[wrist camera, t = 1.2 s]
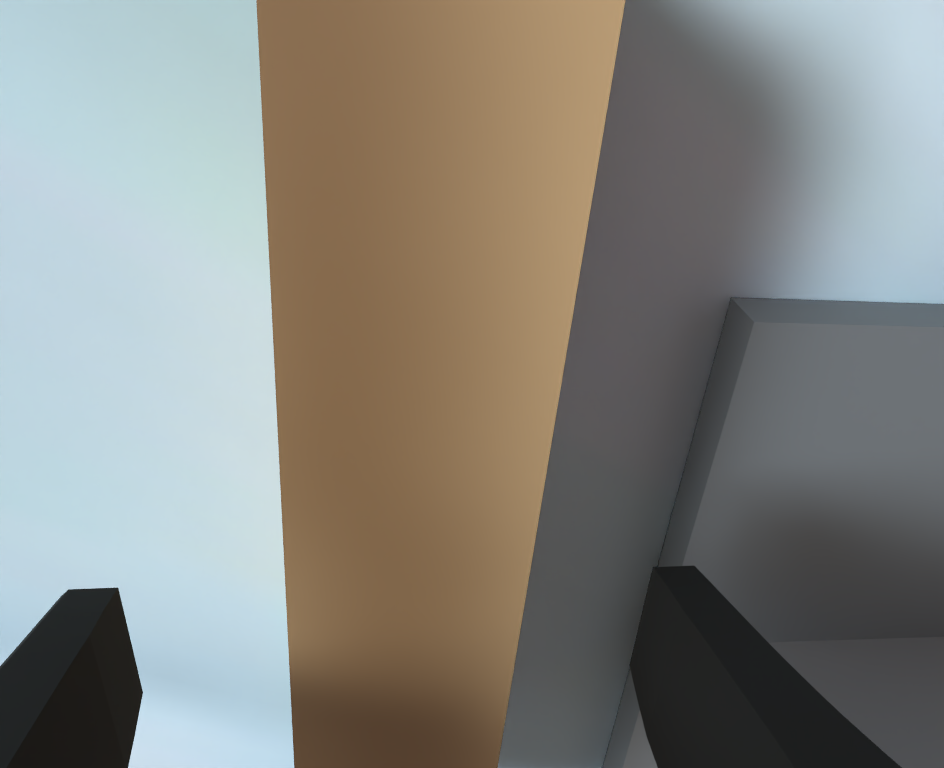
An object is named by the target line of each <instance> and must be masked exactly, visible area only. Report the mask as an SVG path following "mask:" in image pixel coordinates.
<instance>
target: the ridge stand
mask: <svg viewBox="0 0 944 768" xmlns="http://www.w3.org/2000/svg"><path fill="white" fill-rule="evenodd" d="M668 566H695V567H696V568H697V569H698V570H699V571H700V572H701V573H702V574H703V575H704V576H705V577H706V578H707V579H708V580H709V581H710V582H711V583H712V584H713V585H714V586H715V587H716V588H717V590H718V591H719V592H720V593H721V594H722V595H723V596H724V597H725V598H726V599H727V600H728V601H729V602H730V603H731V604H732V605H733V606H734V607H735V608H736V609H737V610H738V611H739V613H740V614H741V615H742V616H743V617H744V618H745V619H746V620H747V621H748V622H749V623H750V624H751V625H752V626H753V627H754V628H755V629H756V630H757V631H758V632H759V633H760V634H761V635H762V636H763V637H764V638H765V639H766V641H767V642H768V643H769V644H770V645H771V646H772V647H773V648H774V649H775V650H776V651H777V652H778V653H779V654H780V655H781V656H782V657H783V658H784V659H785V660H786V661H787V662H788V663H789V664H790V665H791V666H792V667H793V668H794V669H795V670H796V671H797V672H798V673H799V674H800V675H801V676H802V677H803V678H805V679H806V680H807V681H808V682H809V683H810V684H811V685H812V686H813V687H814V688H815V689H816V690H817V691H818V692H819V693H820V694H821V695H822V696H823V697H824V698H825V699H826V700H827V701H828V702H829V703H830V704H831V705H833V706H834V707H835V708H836V709H837V710H838V711H839V712H840V713H841V714H842V715H843V716H844V717H845V718H847V719H848V720H849V721H850V722H851V723H852V724H853V725H854V726H855V727H857V728H858V729H859V730H860V731H861V732H862V733H863V734H864V735H866V736H867V737H868V738H869V739H870V740H871V741H872V742H873V743H874V744H876V745H877V746H878V747H879V748H880V749H881V750H882V751H883V752H884V753H886V754H887V755H888V756H889V757H890V758H891V759H893V760H894V761H895V762H896V763H897V764H898V765H900V766H901V767H902V768H944V304H917V303H885V302H853V301H822V300H790V299H758V298H731V300H730V304H729V307H728V311H727V315H726V318H725V322H724V326H723V329H722V333H721V336H720V340H719V344H718V347H717V351H716V355H715V358H714V362H713V366H712V369H711V373H710V377H709V380H708V384H707V388H706V391H705V395H704V399H703V402H702V406H701V410H700V413H699V417H698V421H697V424H696V428H695V431H694V435H693V439H692V442H691V446H690V450H689V453H688V457H687V461H686V464H685V468H684V472H683V475H682V479H681V483H680V486H679V490H678V494H677V497H676V501H675V505H674V508H673V512H672V516H671V519H670V523H669V526H668V530H667V534H666V537H665V541H664V545H663V548H662V552H661V556H660V559H659V563H658V567H668ZM603 768H658V767H657V764H656V761H655V759H654V756H653V753H652V750H651V748H650V745H649V742H648V739H647V736H646V732H645V728H644V724H643V720H642V716H641V712H640V709H639V705H638V700H637V696H636V692H635V687H634V683H633V679H632V674H631V670H630V669H629V673H628V676H627V680H626V684H625V687H624V691H623V695H622V698H621V702H620V706H619V709H618V713H617V717H616V720H615V724H614V727H613V731H612V735H611V738H610V742H609V746H608V749H607V753H606V757H605V760H604V764H603Z"/></svg>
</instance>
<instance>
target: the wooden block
mask: <svg viewBox="0 0 944 768" xmlns="http://www.w3.org/2000/svg"><path fill="white" fill-rule="evenodd" d="M624 6H625V0H257V19H258V40H259V60H260V80H261V100H262V121H263V141H264V161H265V181H266V201H267V222H268V242H269V262H270V282H271V303H272V323H273V343H274V363H275V383H276V404H277V424H278V444H279V464H280V484H281V505H282V525H283V545H284V565H285V586H286V606H287V626H288V646H289V666H290V687H291V707H292V727H293V747H294V768H497V767H498V761H499V755H500V749H501V743H502V737H503V731H504V725H505V719H506V713H507V707H508V701H509V695H510V689H511V683H512V677H513V671H514V665H515V659H516V653H517V647H518V641H519V635H520V629H521V623H522V617H523V611H524V605H525V599H526V593H527V587H528V581H529V575H530V569H531V563H532V557H533V551H534V545H535V539H536V533H537V527H538V521H539V515H540V509H541V503H542V497H543V491H544V485H545V479H546V473H547V467H548V461H549V455H550V449H551V443H552V437H553V431H554V425H555V419H556V413H557V407H558V401H559V395H560V389H561V383H562V377H563V371H564V365H565V359H566V353H567V347H568V341H569V335H570V329H571V323H572V317H573V311H574V306H575V300H576V294H577V288H578V282H579V276H580V270H581V264H582V258H583V252H584V246H585V240H586V234H587V228H588V222H589V216H590V210H591V204H592V198H593V192H594V186H595V180H596V174H597V168H598V162H599V156H600V150H601V144H602V138H603V132H604V126H605V120H606V114H607V108H608V102H609V96H610V90H611V84H612V78H613V72H614V66H615V60H616V54H617V48H618V42H619V36H620V30H621V24H622V18H623V12H624Z"/></svg>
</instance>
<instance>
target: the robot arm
mask: <svg viewBox="0 0 944 768" xmlns="http://www.w3.org/2000/svg"><path fill="white" fill-rule="evenodd" d="M630 670H631V674H632V679H633V683H634V687H635V692H636V696H637V700H638V705H639V709H640V712H641V716H642V720H643V724H644V728H645V732H646V736H647V739H648V742H649V745H650V748H651V750H652V753H653V756H654V759H655V761H656V764H657V767H658V768H902V767H901V766H900V765H898V764H897V763H896V762H895V761H894V760H893V759H891V758H890V757H889V756H888V755H887V754H886V753H884V752H883V751H882V750H881V749H880V748H879V747H878V746H877V745H876V744H874V743H873V742H872V741H871V740H870V739H869V738H868V737H867V736H866V735H864V734H863V733H862V732H861V731H860V730H859V729H858V728H857V727H855V726H854V725H853V724H852V723H851V722H850V721H849V720H848V719H847V718H845V717H844V716H843V715H842V714H841V713H840V712H839V711H838V710H837V709H836V708H835V707H834V706H833V705H831V704H830V703H829V702H828V701H827V700H826V699H825V698H824V697H823V696H822V695H821V694H820V693H819V692H818V691H817V690H816V689H815V688H814V687H813V686H812V685H811V684H810V683H809V682H808V681H807V680H806V679H805V678H803V677H802V676H801V675H800V674H799V673H798V672H797V671H796V670H795V669H794V668H793V667H792V666H791V665H790V664H789V663H788V662H787V661H786V660H785V659H784V658H783V657H782V656H781V655H780V654H779V653H778V652H777V651H776V650H775V649H774V648H773V647H772V646H771V645H770V644H769V643H768V642H767V641H766V639H765V638H764V637H763V636H762V635H761V634H760V633H759V632H758V631H757V630H756V629H755V628H754V627H753V626H752V625H751V624H750V623H749V622H748V621H747V620H746V619H745V618H744V617H743V616H742V615H741V614H740V613H739V611H738V610H737V609H736V608H735V607H734V606H733V605H732V604H731V603H730V602H729V601H728V600H727V599H726V598H725V597H724V596H723V595H722V594H721V593H720V592H719V591H718V590H717V588H716V587H715V586H714V585H713V584H712V583H711V582H710V581H709V580H708V579H707V578H706V577H705V576H704V575H703V574H702V573H701V572H700V571H699V570H698V569H697V568H696V567H695V566H668V567H653V569H652V573H651V578H650V582H649V586H648V590H647V594H646V599H645V603H644V607H643V611H642V615H641V620H640V624H639V628H638V632H637V636H636V641H635V645H634V649H633V653H632V657H631V662H630ZM142 694H143V691H142V687H141V683H140V679H139V674H138V670H137V666H136V662H135V657H134V653H133V649H132V645H131V641H130V636H129V632H128V628H127V624H126V619H125V615H124V611H123V607H122V602H121V598H120V594H119V590H118V588H98V589H72V590H68V591H67V592H65V593H64V594H63V595H62V596H61V597H60V598H59V599H58V601H57V602H56V603H55V604H54V605H53V606H52V607H51V609H50V610H49V611H48V612H47V613H46V614H45V616H44V617H43V618H42V619H41V620H40V621H39V622H38V624H37V625H36V626H35V627H34V628H33V629H32V631H31V632H30V633H29V634H28V635H27V636H26V638H25V639H24V640H23V641H22V642H21V643H20V644H19V646H18V647H17V648H16V649H15V650H14V651H13V652H12V654H11V655H10V656H9V657H8V658H7V659H6V660H5V662H4V663H3V664H2V665H1V666H0V768H128V764H129V759H130V755H131V750H132V745H133V741H134V736H135V731H136V725H137V720H138V715H139V710H140V704H141V699H142Z"/></svg>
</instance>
